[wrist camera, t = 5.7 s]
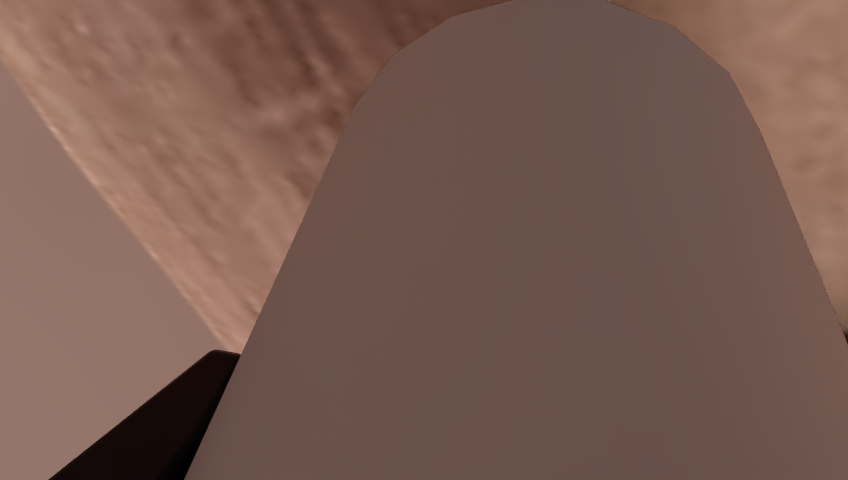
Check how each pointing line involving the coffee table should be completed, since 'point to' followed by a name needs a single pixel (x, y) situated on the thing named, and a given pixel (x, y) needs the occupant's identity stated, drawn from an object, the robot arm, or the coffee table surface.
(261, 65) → the coffee table surface
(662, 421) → the can
